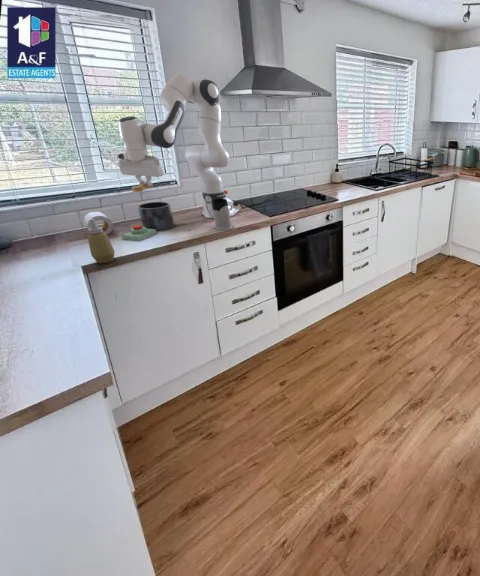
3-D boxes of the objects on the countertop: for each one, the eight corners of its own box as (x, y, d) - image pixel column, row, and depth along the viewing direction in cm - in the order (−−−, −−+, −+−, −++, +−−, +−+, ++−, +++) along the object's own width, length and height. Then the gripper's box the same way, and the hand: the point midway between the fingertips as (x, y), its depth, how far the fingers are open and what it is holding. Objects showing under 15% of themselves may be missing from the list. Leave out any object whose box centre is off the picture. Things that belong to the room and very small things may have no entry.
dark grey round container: (156, 222, 205) (151, 200, 200) (180, 224, 203) (175, 202, 198) (136, 230, 192) (130, 207, 187) (162, 232, 190) (156, 209, 185)
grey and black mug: (224, 231, 196) (219, 203, 189) (204, 227, 200) (198, 199, 194) (236, 226, 203) (231, 199, 196) (216, 223, 208) (211, 196, 201)
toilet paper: (115, 233, 187) (109, 214, 182) (91, 237, 180) (84, 217, 176) (111, 228, 193) (105, 210, 188) (87, 232, 186) (80, 213, 182)
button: (137, 227, 185) (136, 224, 184) (144, 228, 184) (143, 225, 183) (132, 230, 182) (131, 226, 181) (138, 230, 181) (137, 227, 180)
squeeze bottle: (92, 266, 151) (77, 223, 143) (95, 259, 157) (81, 218, 149) (116, 263, 154) (102, 221, 146) (118, 256, 161) (105, 216, 153)
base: (141, 231, 190) (138, 224, 189) (156, 233, 189) (154, 225, 187) (122, 239, 180) (120, 231, 178) (138, 240, 179) (136, 232, 177)
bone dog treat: (147, 186, 183) (146, 181, 181) (155, 187, 182) (154, 182, 181) (130, 191, 173) (128, 186, 172) (138, 192, 172) (137, 187, 171)
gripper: (162, 155, 173) (169, 185, 180) (123, 153, 176) (132, 182, 183) (152, 157, 168) (160, 187, 174) (113, 154, 171) (122, 185, 177)
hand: (145, 185), depth 178 cm, fingers closed on bone dog treat, 2 cm apart
